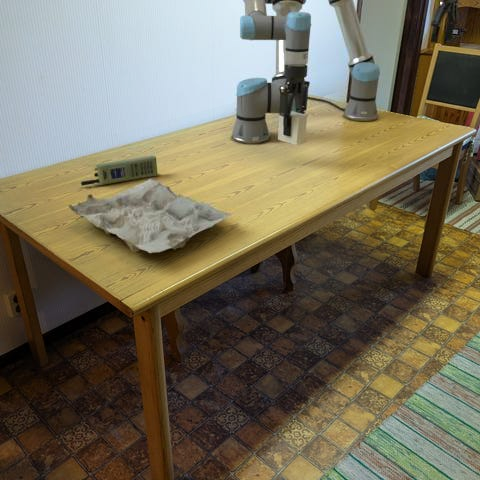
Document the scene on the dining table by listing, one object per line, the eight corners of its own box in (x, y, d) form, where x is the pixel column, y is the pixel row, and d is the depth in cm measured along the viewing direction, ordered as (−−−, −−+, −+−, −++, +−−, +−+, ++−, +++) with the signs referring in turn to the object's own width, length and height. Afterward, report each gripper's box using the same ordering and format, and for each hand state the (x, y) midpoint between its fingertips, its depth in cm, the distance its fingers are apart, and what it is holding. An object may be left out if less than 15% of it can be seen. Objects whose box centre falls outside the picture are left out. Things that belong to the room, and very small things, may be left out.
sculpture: (148, 192, 160) (63, 221, 139) (147, 174, 157) (60, 201, 136) (236, 233, 139) (152, 274, 118) (238, 213, 136) (151, 251, 115)
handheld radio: (158, 176, 170) (83, 189, 160) (155, 173, 172) (80, 186, 162) (156, 157, 167) (79, 169, 157) (153, 154, 169) (77, 166, 159)
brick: (296, 145, 174) (298, 117, 169) (277, 139, 179) (279, 112, 174) (305, 142, 177) (307, 114, 172) (286, 136, 182) (287, 109, 177)
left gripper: (287, 69, 157) (283, 141, 169) (321, 62, 168) (315, 130, 180) (269, 66, 162) (266, 136, 173) (303, 59, 173) (299, 126, 184)
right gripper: (446, -11, 205) (435, 44, 216) (472, -13, 221) (461, 39, 231) (429, -12, 210) (419, 42, 220) (455, -14, 225) (445, 37, 236)
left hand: (291, 133), depth 177 cm, fingers closed on brick, 5 cm apart
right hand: (441, 41), depth 226 cm, fingers open, 13 cm apart
